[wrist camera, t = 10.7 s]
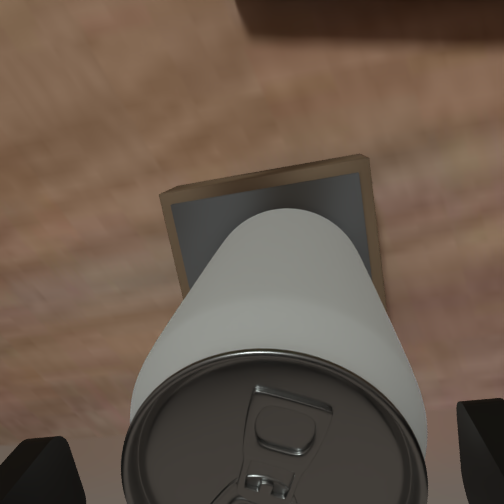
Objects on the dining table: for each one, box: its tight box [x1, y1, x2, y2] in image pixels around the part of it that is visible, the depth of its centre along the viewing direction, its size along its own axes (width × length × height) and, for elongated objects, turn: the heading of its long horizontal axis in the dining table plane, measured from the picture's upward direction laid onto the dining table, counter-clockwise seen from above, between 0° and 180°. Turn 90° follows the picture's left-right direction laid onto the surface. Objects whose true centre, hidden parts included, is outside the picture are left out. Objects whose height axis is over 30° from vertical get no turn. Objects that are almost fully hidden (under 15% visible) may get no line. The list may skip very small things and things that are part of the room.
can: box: [121, 208, 428, 504], centre depth 14 cm, size 6×6×12 cm
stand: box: [159, 154, 387, 313], centre depth 21 cm, size 9×9×3 cm
